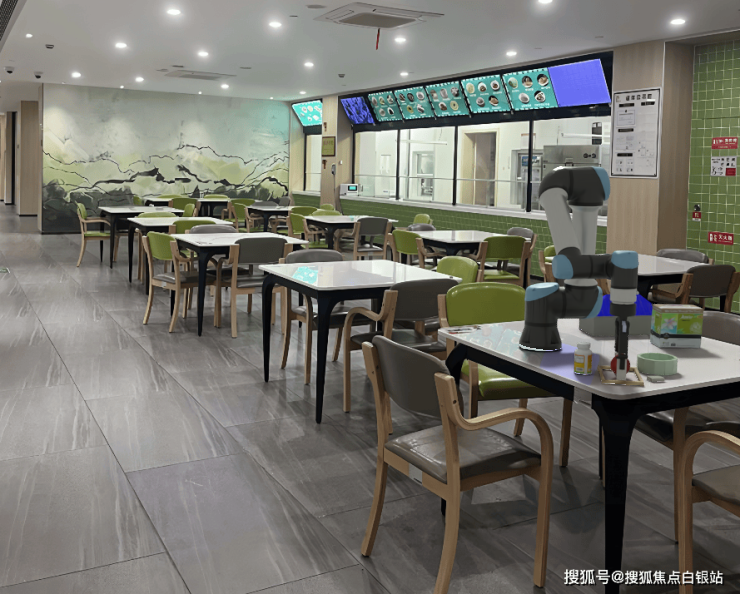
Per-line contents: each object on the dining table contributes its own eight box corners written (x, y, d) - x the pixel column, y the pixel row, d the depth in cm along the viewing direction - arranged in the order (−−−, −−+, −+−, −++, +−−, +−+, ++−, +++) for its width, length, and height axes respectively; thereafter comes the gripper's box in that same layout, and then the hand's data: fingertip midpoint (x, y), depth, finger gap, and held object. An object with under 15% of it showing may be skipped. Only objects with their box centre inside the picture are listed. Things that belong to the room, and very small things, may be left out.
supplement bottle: (588, 371, 229) (589, 341, 227) (594, 375, 223) (595, 344, 222) (571, 371, 228) (572, 341, 227) (576, 375, 223) (577, 344, 222)
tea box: (659, 348, 261) (661, 308, 258) (649, 342, 270) (651, 303, 268) (701, 348, 260) (704, 307, 258) (690, 342, 270) (692, 303, 268)
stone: (651, 383, 215) (651, 378, 215) (646, 380, 218) (646, 376, 218) (664, 383, 215) (664, 378, 215) (659, 380, 218) (659, 375, 218)
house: (636, 328, 300) (638, 290, 298) (654, 335, 285) (656, 296, 282) (577, 329, 299) (579, 291, 296) (592, 337, 283) (594, 297, 280)
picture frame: (602, 384, 213) (602, 380, 213) (597, 369, 231) (597, 365, 231) (643, 386, 211) (643, 382, 210) (636, 370, 228) (636, 367, 228)
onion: (614, 373, 225) (615, 348, 224) (632, 376, 221) (633, 351, 220) (606, 377, 221) (607, 351, 219) (625, 380, 217) (626, 354, 216)
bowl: (639, 374, 224) (639, 359, 224) (634, 365, 236) (635, 351, 235) (679, 376, 222) (680, 361, 221) (673, 367, 233) (673, 353, 232)
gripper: (640, 307, 207) (636, 385, 210) (632, 297, 226) (629, 369, 230) (612, 306, 209) (609, 384, 212) (607, 297, 228) (604, 368, 231)
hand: (619, 376), depth 221 cm, fingers open, 7 cm apart
